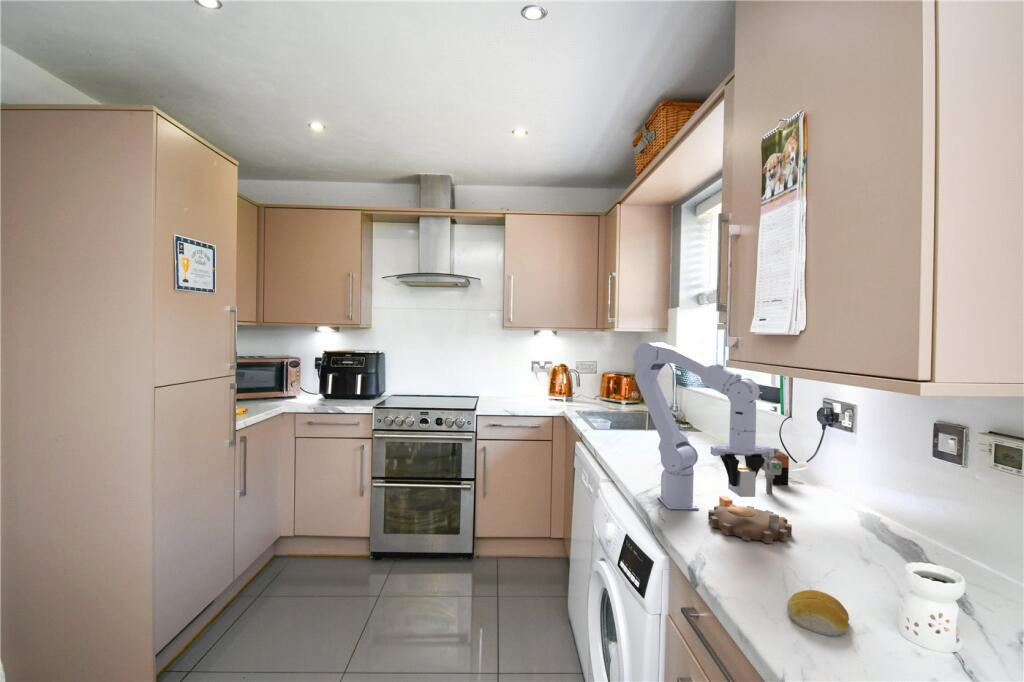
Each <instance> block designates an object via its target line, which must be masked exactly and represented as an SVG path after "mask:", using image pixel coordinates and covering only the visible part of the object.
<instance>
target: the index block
mask: <svg viewBox="0 0 1024 682" xmlns="http://www.w3.org/2000/svg"><path fill="white" fill-rule="evenodd" d="M718 498H719V499H718V506H721V507H727V506H728V505H733V499H731V498H730V497H729V496H725V495H724V496H721V495H720V496H719V497H718Z"/></svg>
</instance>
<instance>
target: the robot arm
mask: <svg viewBox="0 0 1024 682" xmlns="http://www.w3.org/2000/svg"><path fill="white" fill-rule="evenodd" d="M632 359H633V361H634V379H635V382H636V384H637V386H638V389H639V391H640V394H641V396H642V398H643V401H644V403H645V405H646V408H647V410H648V413H649V415H650V417H651V419H652V422H653V425H654V427H655V429H656V432H657V434H658V436H659V438H660V440H659V444H658V450H659V452H660V463H661V465H662V467H663V468H664V469H663V470H662V472H661V475H660V495H659V494H658V495H657V499H659V500H660V501H661V503H662V504H664V505H665V507H666V508H667V509H668V510H700V507H699V506H698V505H697V504H696V503H695V502H694V472H695V471H694V465H696V464H697V462H698V460H699V459H698V458H699V454H698V451H697V449H696V448H695V447H694V446H693V445H692V444H691V443H690V441H689V439H688V438H687V436H686V435H684V434H683V433H682V432H680V429H679V426H678V424H677V422H676V419H675V418H674V416H673V413H672V410H671V409H670V406H669V404H668V401H667V399H666V397H665V394H664V393H663V391H662V388H661V385H660V384H659V381H658V379H657V378H658V377H659V374H660V372H661V370H662V369H663V368H664V367H665V366H666V365H667V364H673V365H675V366H678V367H680V368H681V369H684V370H686V371H687V372H691V373H692V374H693V375H696V376H698V377H700V380H701V383H702V384H704V385H705V386H708V387H709V388H711V389H713V390H714V391H716V392H718V393H721V394H722V395H723V396H727V399H728V401H729V402H730V405H729V406H730V409H729V434H728V435H729V436H728V437H729V442H728V443H729V444H724V445H711V446H710V454H711V455H712V456H714V457H718V456H720V459H721V461H722V463H723V465H724V468H725V471H726V474H727V478H729V484H730V485H732V486H736V484H737V469H738V465H740V459H737V456H741V457H742V456H743V457H744V463H745V466H748V467H750V468H752V470H754V471H755V472H756V477H757V476H758V474H759V472H760V470H761V467H762V465H763V464H764V462H765V459H764V458H763V457H762V456H770V457H774V449H773V448H774V447H770V446H761V445H756V440H757V439H756V438H757V437H756V436H757V400H758V398H759V397H760V395H761V389H760V386H759V385H758V384H757V383H756V382H755V381H754V380H753V379H752V378H742V374H740V373H737V374H735V373H734V372H731V371H730V370H727V369H725V368H724V367H725V365H723V364H721V363H717V364H715V363H710V364H705V363H703V362H701V361H700V360H699V359H696V358H694V357H692V356H691V355H690V354H688V353H685V352H684V351H682V350H680V349H679V348H676V347H675V346H673V345H669V344H667V343H665V342H662V341H661V342H659V341H658V342H648V341H647V342H641V343H640V344H638V345H637V346H636V349H635V350H634V353H633V355H632Z"/></svg>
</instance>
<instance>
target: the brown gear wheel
mask: <svg viewBox="0 0 1024 682" xmlns="http://www.w3.org/2000/svg"><path fill="white" fill-rule="evenodd" d="M707 514H708V515H707V517H708V521H709V525H710V526H711V527H712V528H718V529H720V530H721V533H722V534H724V535H726V536H730V535H733V536H736V537H738V538H739V537H740V538H741V539H742V540H744V541H749V542H751V540H755V541H762V542H764V543H765V544H773V543H774V542H773V541H776V540H779V541H782V542H786V541H788V540H789V536H790V537H792V536H793V535H792V531H793V526H792V524H791V523H788V521H789V520H788V519H787V518H786V517H785V516H780V515H779V514H776V513H775V512H773V511H772V510H771V511H770V510H761V509H758V508H757V509H756V508H755V506H751V505H746V507H745V506H737V505H736V504H732V505H728V506H727V507H721V506H719V505H715V506H713V509H709V510H708V513H707Z"/></svg>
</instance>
